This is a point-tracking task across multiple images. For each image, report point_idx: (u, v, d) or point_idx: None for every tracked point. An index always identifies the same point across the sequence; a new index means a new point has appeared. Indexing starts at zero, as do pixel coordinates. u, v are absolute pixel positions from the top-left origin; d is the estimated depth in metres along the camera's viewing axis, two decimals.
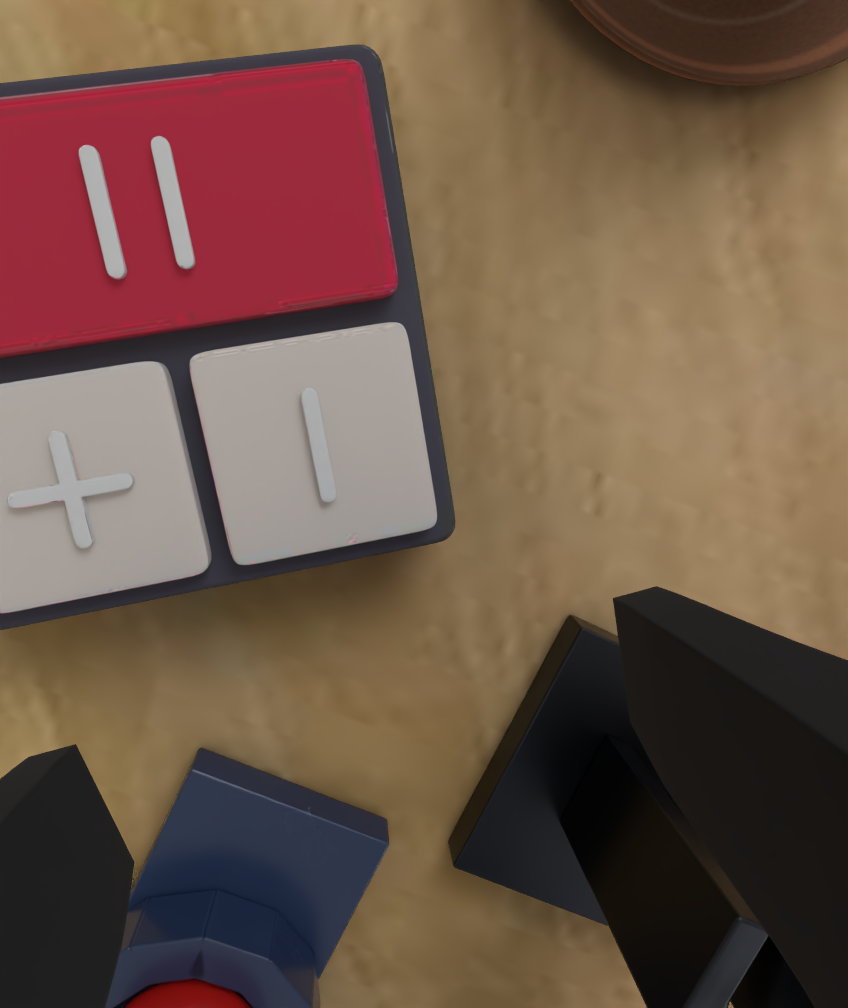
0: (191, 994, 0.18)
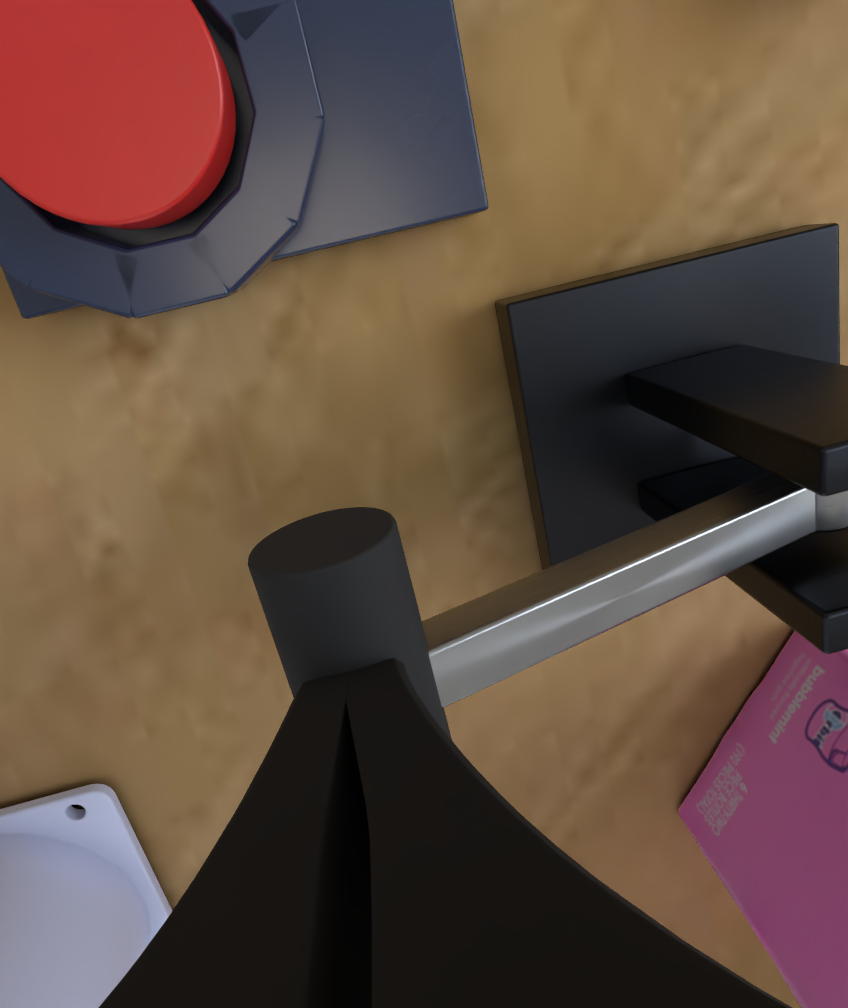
0: None
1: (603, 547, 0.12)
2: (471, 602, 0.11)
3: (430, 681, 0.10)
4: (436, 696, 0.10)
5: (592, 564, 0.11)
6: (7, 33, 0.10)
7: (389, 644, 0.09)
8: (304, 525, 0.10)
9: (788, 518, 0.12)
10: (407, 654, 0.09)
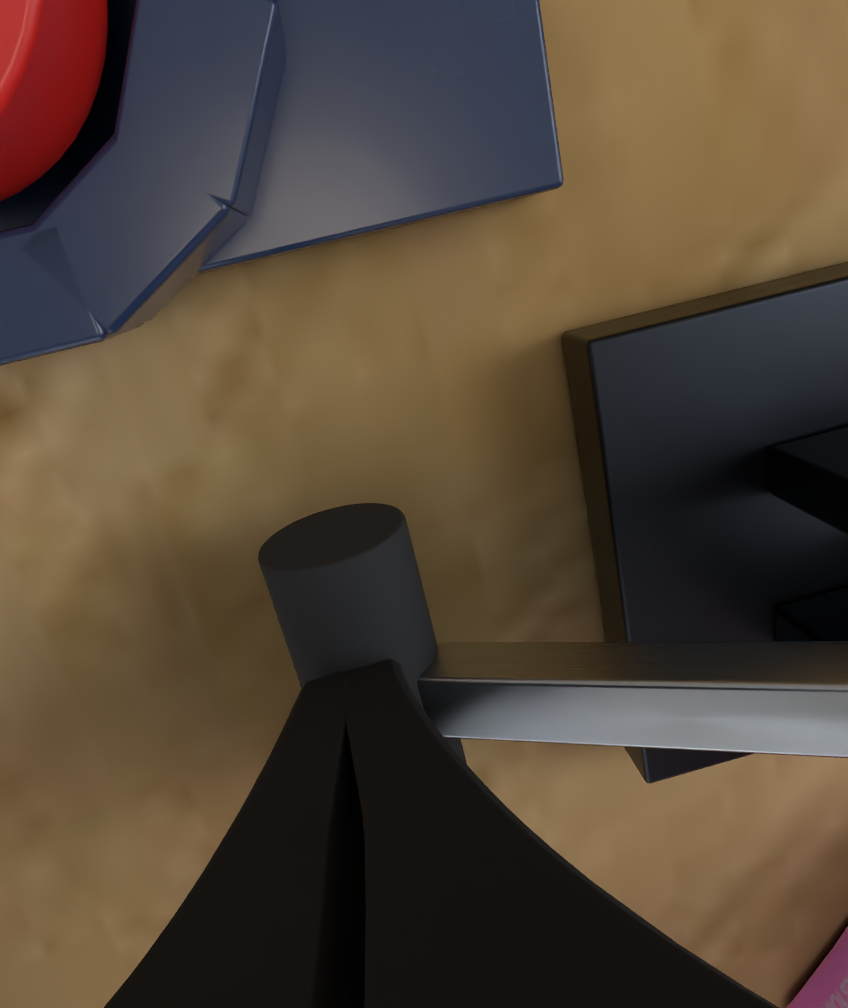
0: None
1: (701, 646, 0.09)
2: (508, 645, 0.10)
3: None
4: None
5: (662, 662, 0.08)
6: None
7: (346, 659, 0.09)
8: (346, 512, 0.10)
9: None
10: None
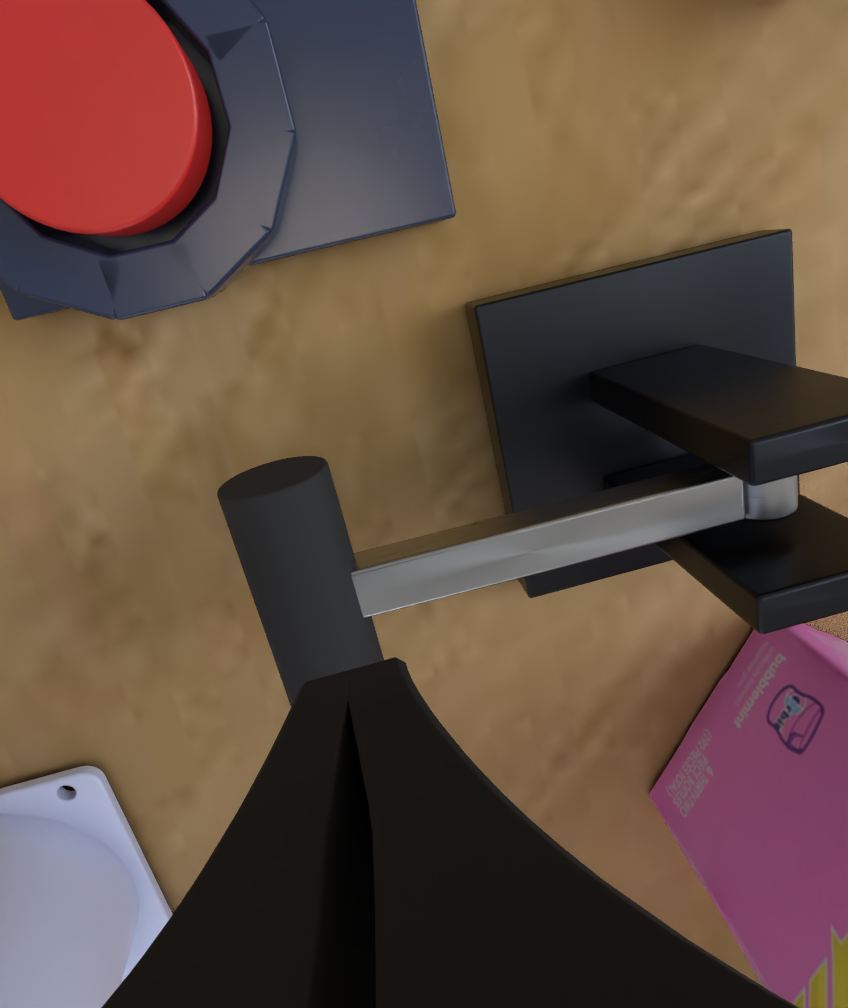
0: (188, 58, 0.12)
1: (528, 511, 0.14)
2: (405, 541, 0.14)
3: (348, 594, 0.13)
4: (354, 607, 0.13)
5: (508, 523, 0.13)
6: None
7: (305, 560, 0.12)
8: (271, 466, 0.13)
9: (710, 503, 0.13)
10: (323, 569, 0.12)
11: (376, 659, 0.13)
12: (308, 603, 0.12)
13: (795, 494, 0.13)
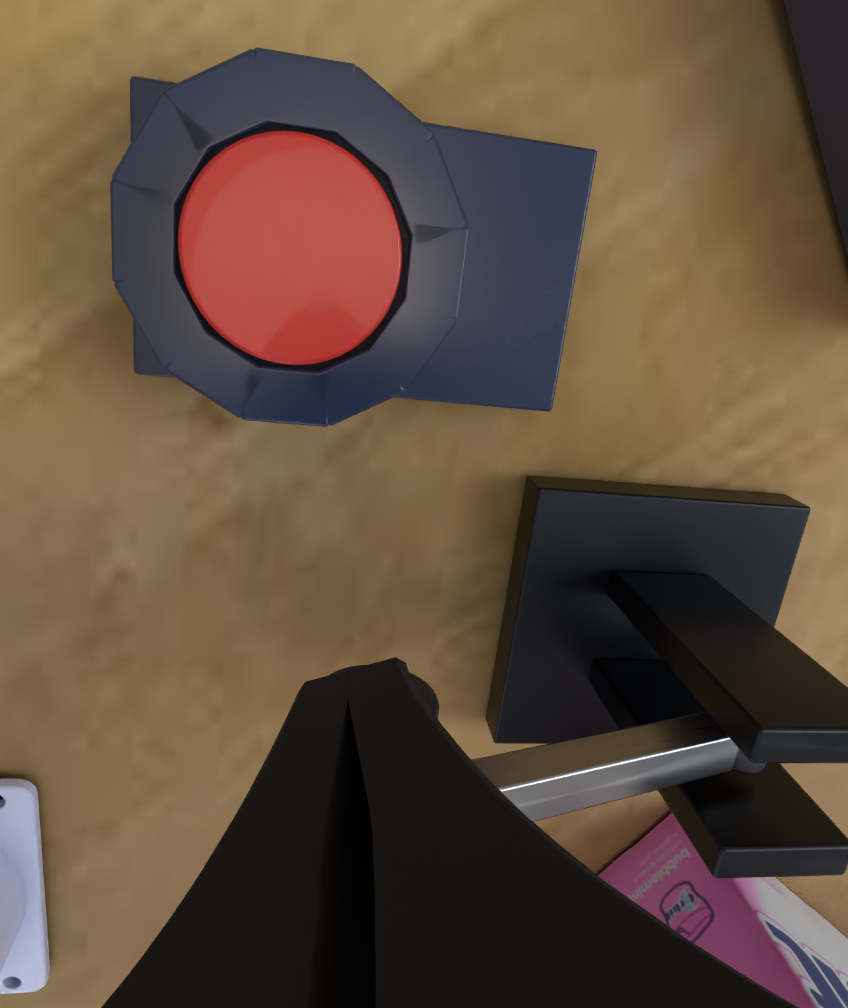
0: None
1: (572, 743, 0.14)
2: None
3: None
4: None
5: (562, 758, 0.13)
6: (244, 198, 0.12)
7: None
8: None
9: (715, 757, 0.15)
10: None
11: None
12: None
13: None
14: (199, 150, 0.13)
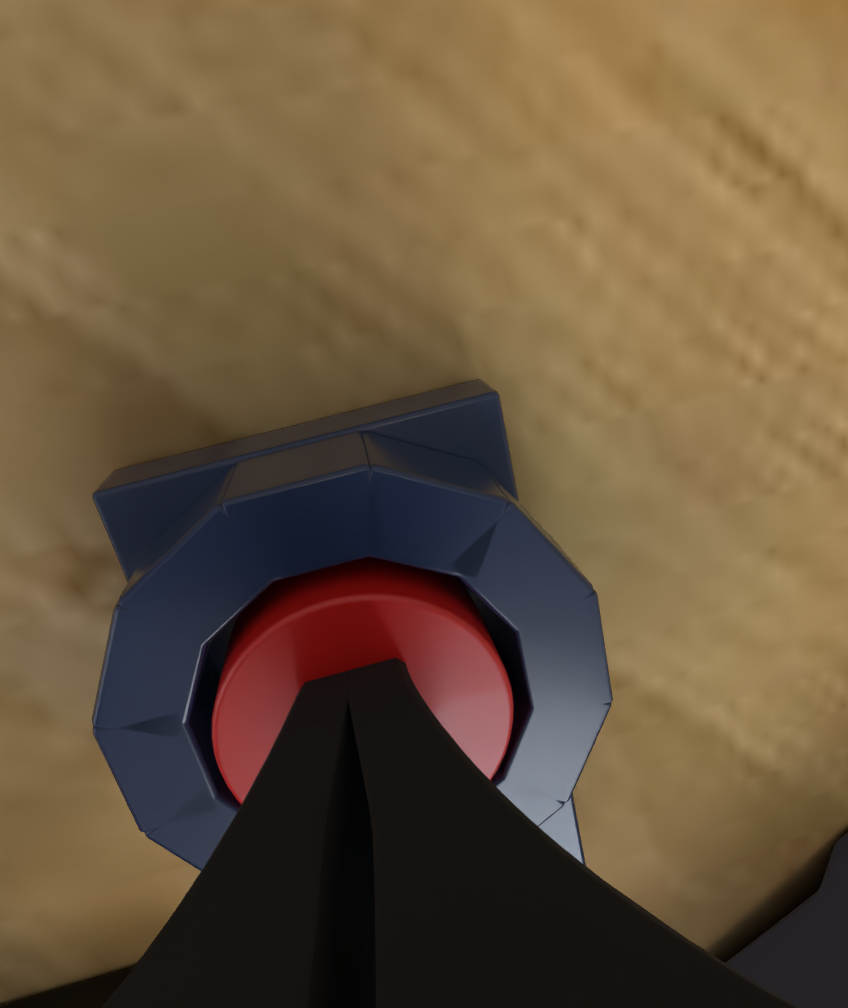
0: None
1: None
2: None
3: None
4: None
5: None
6: (413, 661, 0.09)
7: None
8: None
9: None
10: None
11: None
12: None
13: None
14: (452, 565, 0.09)
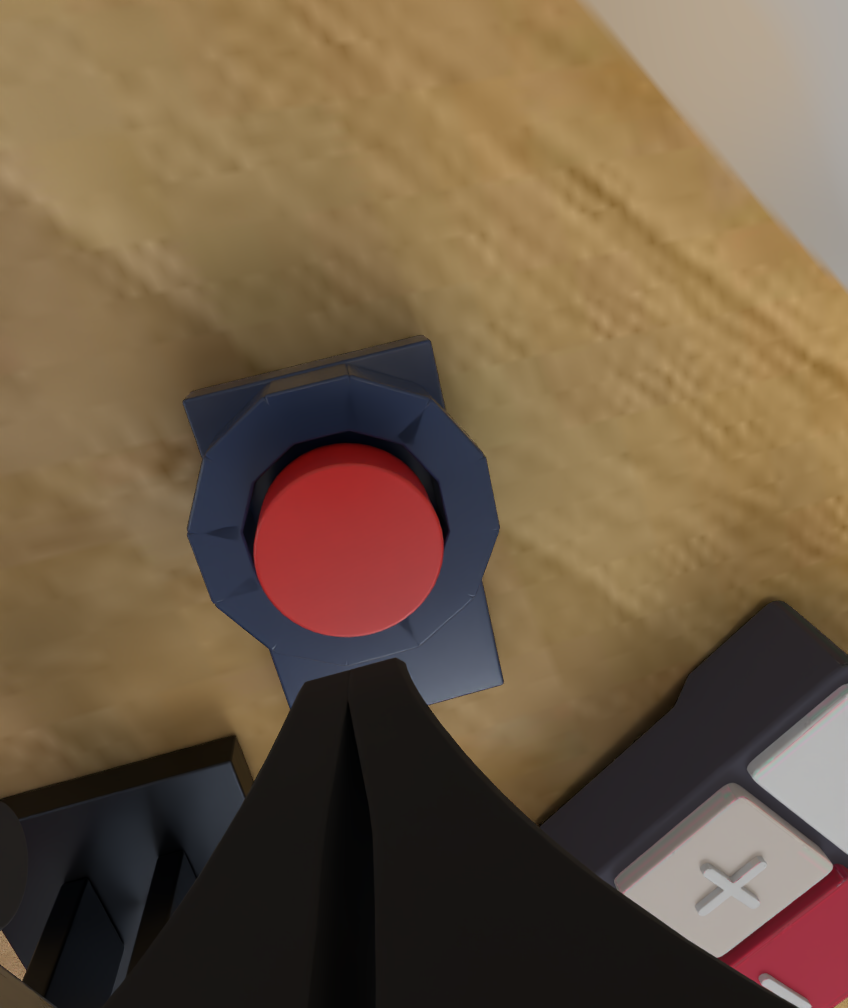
0: None
1: (17, 985, 0.14)
2: None
3: None
4: None
5: None
6: (378, 507, 0.14)
7: None
8: (3, 823, 0.12)
9: None
10: None
11: None
12: None
13: None
14: (398, 437, 0.15)
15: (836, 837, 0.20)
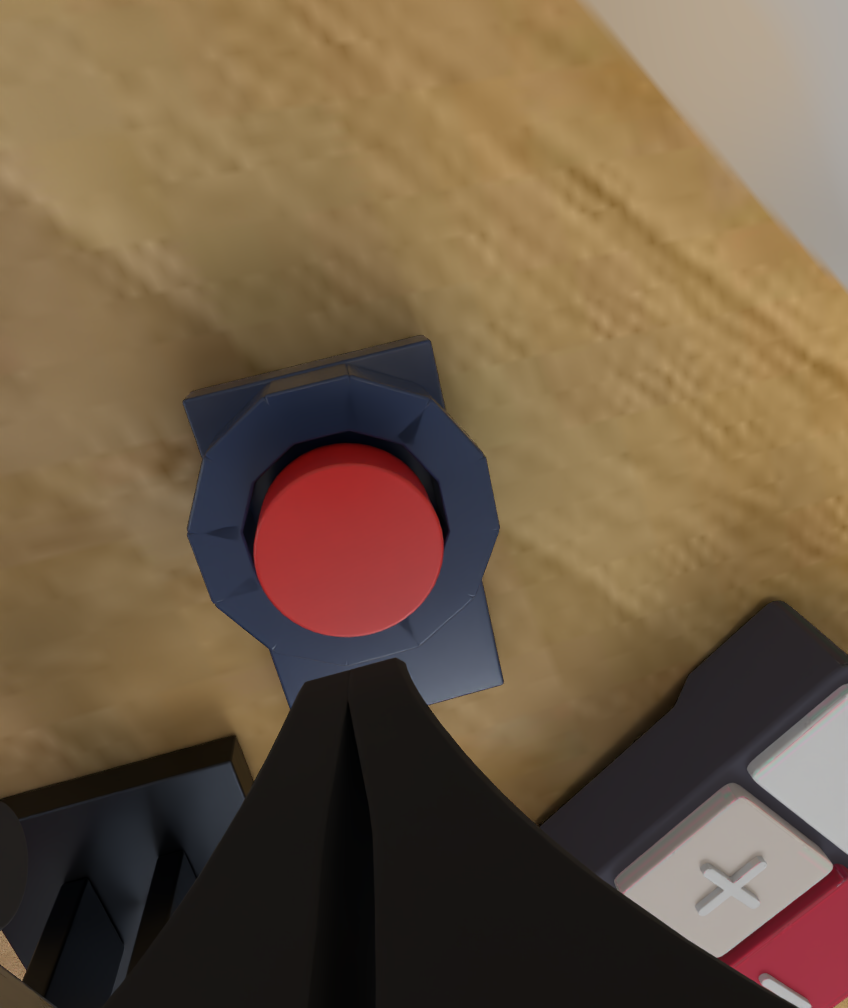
0: None
1: (17, 985, 0.14)
2: None
3: None
4: None
5: None
6: (378, 507, 0.14)
7: None
8: (3, 823, 0.12)
9: None
10: None
11: None
12: None
13: None
14: (398, 437, 0.15)
15: (836, 837, 0.20)
